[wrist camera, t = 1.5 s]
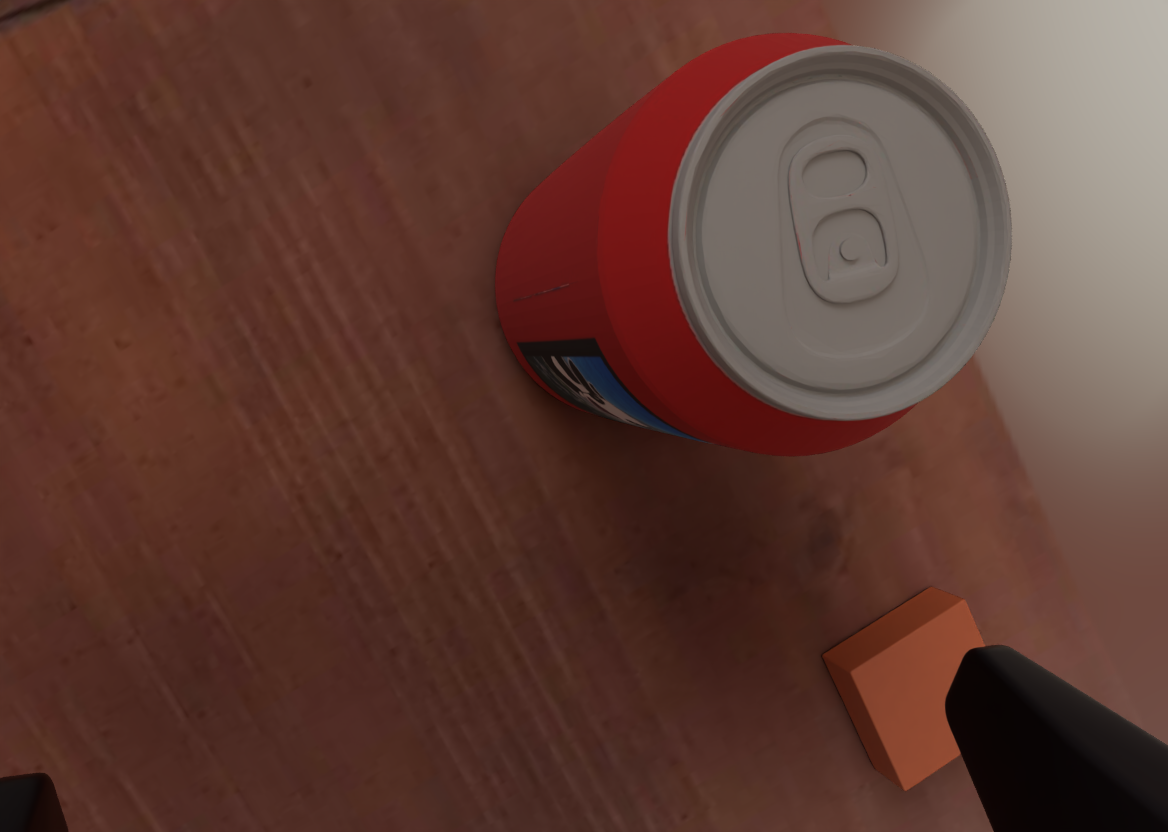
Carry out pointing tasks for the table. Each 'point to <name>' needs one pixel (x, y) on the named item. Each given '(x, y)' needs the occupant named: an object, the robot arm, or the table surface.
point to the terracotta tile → (905, 683)
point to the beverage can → (763, 250)
